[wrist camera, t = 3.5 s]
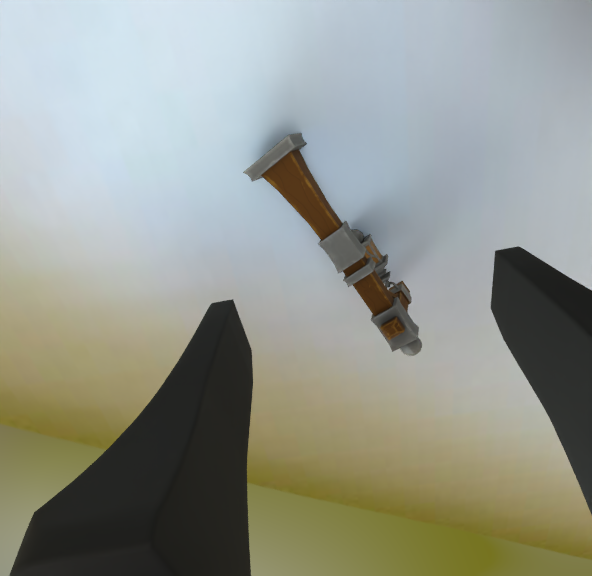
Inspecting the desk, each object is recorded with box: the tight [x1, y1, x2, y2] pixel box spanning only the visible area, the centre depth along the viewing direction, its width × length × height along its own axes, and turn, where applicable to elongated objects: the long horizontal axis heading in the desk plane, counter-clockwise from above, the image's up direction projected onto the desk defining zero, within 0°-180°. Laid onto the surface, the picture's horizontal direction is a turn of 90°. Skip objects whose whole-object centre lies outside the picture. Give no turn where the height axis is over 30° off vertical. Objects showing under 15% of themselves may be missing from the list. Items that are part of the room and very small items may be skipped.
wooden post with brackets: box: [243, 133, 422, 356], centre depth 16 cm, size 2×8×4 cm, turn 39°
